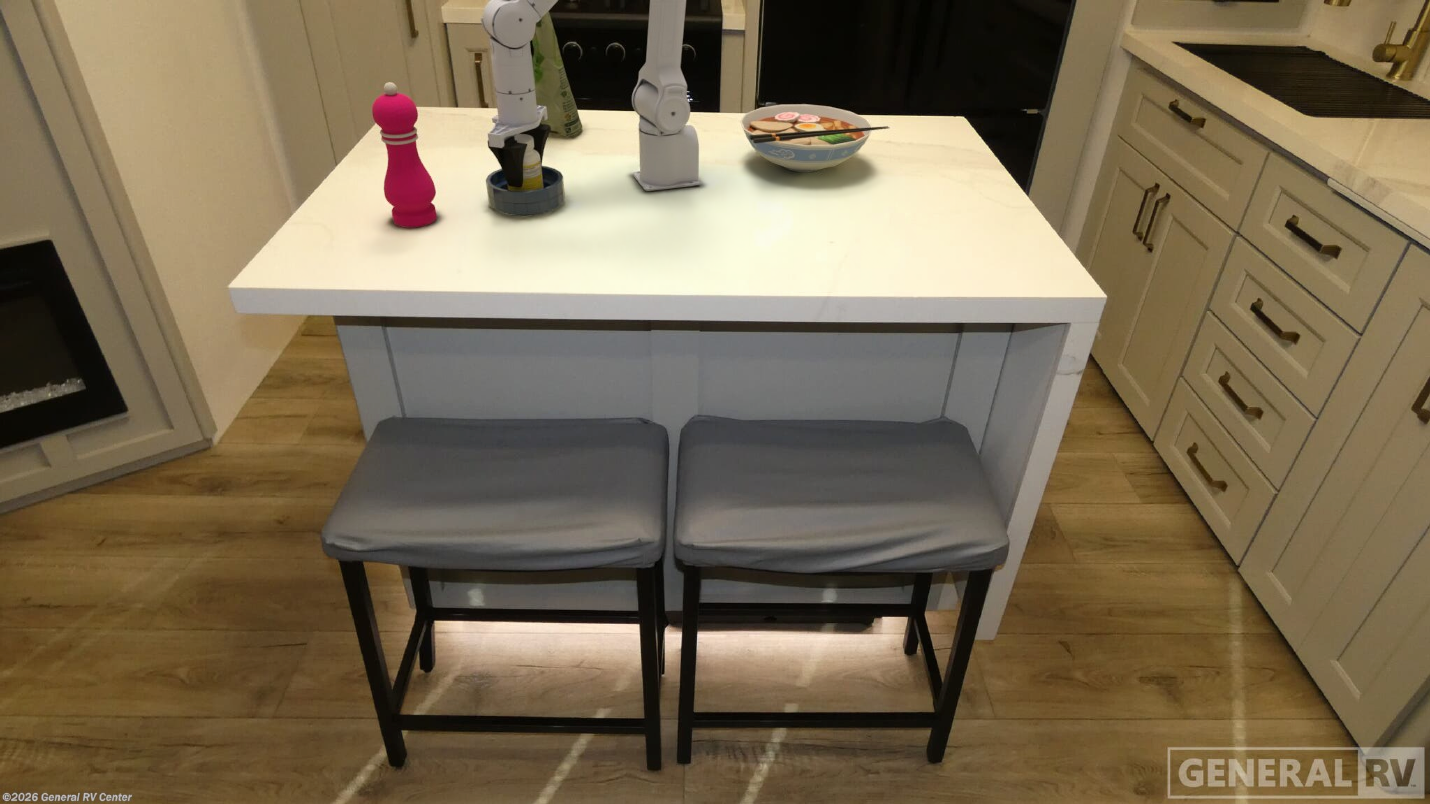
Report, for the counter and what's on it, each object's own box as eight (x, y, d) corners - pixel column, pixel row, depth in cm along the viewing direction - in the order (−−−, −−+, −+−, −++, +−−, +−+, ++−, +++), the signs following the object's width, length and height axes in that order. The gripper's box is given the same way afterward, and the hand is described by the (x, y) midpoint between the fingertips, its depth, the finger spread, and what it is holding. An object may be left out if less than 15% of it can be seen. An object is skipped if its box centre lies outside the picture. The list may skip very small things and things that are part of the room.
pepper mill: (449, 213, 132) (427, 78, 120) (421, 232, 126) (395, 92, 114) (409, 206, 134) (383, 72, 122) (380, 224, 128) (349, 86, 116)
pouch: (557, 144, 158) (544, -4, 144) (509, 131, 163) (492, -13, 149) (596, 129, 166) (588, -14, 151) (549, 117, 171) (537, -22, 157)
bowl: (556, 186, 142) (554, 161, 139) (572, 213, 133) (569, 187, 130) (484, 194, 138) (481, 168, 136) (495, 222, 129) (492, 195, 127)
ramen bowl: (839, 138, 164) (844, 94, 160) (896, 181, 147) (904, 133, 142) (715, 150, 158) (716, 104, 153) (759, 196, 140) (762, 146, 135)
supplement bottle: (511, 193, 137) (503, 132, 131) (545, 193, 138) (539, 132, 132) (507, 207, 133) (499, 144, 127) (543, 206, 133) (537, 143, 128)
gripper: (514, 73, 132) (523, 160, 140) (464, 99, 121) (477, 192, 128) (556, 78, 130) (563, 166, 138) (509, 104, 119) (519, 198, 127)
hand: (524, 179), depth 133 cm, fingers closed on supplement bottle, 5 cm apart
